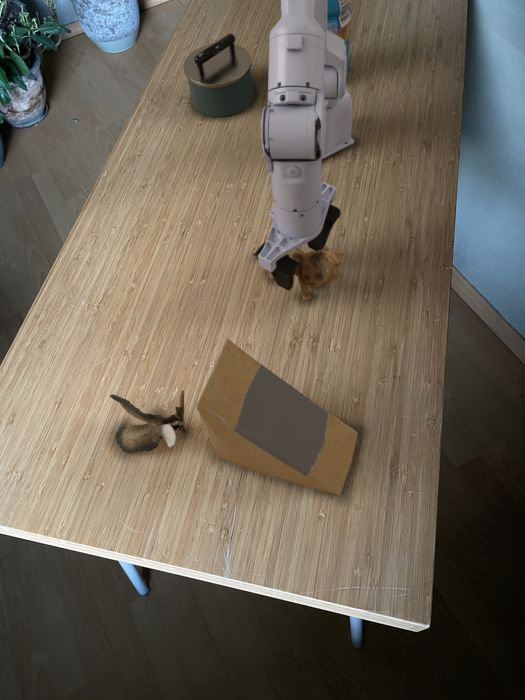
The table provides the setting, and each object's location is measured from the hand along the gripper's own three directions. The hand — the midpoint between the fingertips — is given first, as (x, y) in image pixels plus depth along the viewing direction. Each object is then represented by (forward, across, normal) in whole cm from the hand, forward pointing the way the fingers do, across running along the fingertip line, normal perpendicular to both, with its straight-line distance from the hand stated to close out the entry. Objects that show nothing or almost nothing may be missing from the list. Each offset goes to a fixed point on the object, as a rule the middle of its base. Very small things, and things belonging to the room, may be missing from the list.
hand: (300, 267), depth 81 cm
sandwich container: (+3, +21, +13) cm, 25 cm away
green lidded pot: (+3, -26, -35) cm, 44 cm away
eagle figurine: (+3, +29, -2) cm, 30 cm away
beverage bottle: (+3, -41, -22) cm, 46 cm away
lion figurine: (+3, 0, 0) cm, 3 cm away
